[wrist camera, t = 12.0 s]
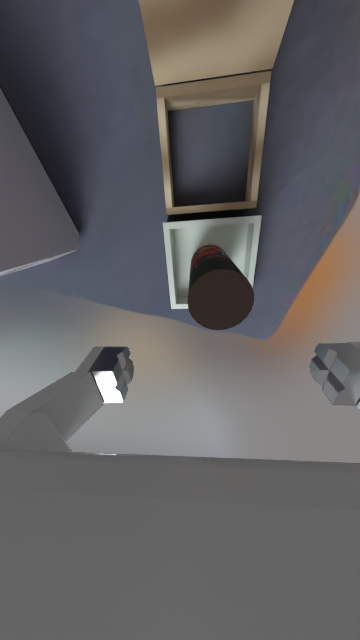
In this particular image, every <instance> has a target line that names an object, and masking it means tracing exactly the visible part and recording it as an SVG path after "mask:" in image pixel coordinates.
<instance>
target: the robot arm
mask: <svg viewBox="0 0 360 640" xmlns="http://www.w3.org/2000/svg"><path fill="white" fill-rule="evenodd" d="M315 353H316V356H315V357H314V358H312V359H311V362H310V373H311V375H312V377H313V379H314V380H315V381H316V382H317V383H319V384H320V385H322V386H323V387H322V391H323V393H324V394H325V396H326V397H327V398H328V400H329V401H330V403H331V404H332V405H348V406H357V408H359V409H360V342H347V343H319V344H318V345H317V346H316V348H315ZM129 356H130V351H129V348H128V347H94V348H93V349H92V350H91V352H90V353H89V354H88V355H87V357H86V358H85V360H84V361H83V362H82V364H81V365H80V366H79V367H78V369H77V370H76V371H75V372H71V373H69V374H68V375H66V376H64V377H63V378H61V379H59V380H57V381H56V382H54V383H52V384H51V385H49V386H47V387H46V388H44V389H42V390H41V391H39V392H37V393H36V394H34V395H32V396H31V397H29V398H27V399H26V400H24V401H22V402H21V403H19V404H17V405H15V406H14V407H12V408H11V409H9V410H7V411H6V412H5V413H4V414H3V415H2V416H1V417H0V640H360V463H341V462H315V461H291V460H265V459H240V458H214V457H188V456H161V455H137V454H109V453H85V452H72V450H71V448H70V447H69V445H68V444H67V443H66V441H67V440H68V439H69V438H70V437H71V436H72V435H73V434H74V433H75V432H76V431H77V430H78V429H79V428H80V427H81V426H82V425H83V424H84V423H85V422H86V421H87V420H88V419H89V418H90V417H91V416H92V415H93V414H94V413H95V412H96V411H97V410H99V408H100V407H101V406H102V405H104V403H115V402H116V403H119V402H124V399H125V396H126V394H127V391H128V387H127V384H129V383H130V382H131V381H132V378H133V372H134V366H133V361H132V360H130V359H129Z"/></svg>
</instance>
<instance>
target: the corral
mask: <svg viewBox="0 0 360 640" xmlns="http://www.w3.org/2000/svg"><path fill="white" fill-rule="evenodd" d="M270 79H271V71H266V72H259V73H252V74H246V75H239V76H232V77H225V78H218V79H211V80H204V81H197V82H190V83H183V84H176V85H169V86H162V87H156V98H157V109H158V120H159V132H160V143H161V154H162V166H163V177H164V188H165V199H166V211H167V215H175V214H187V213H200V212H213V211H225V210H238V209H251V208H256V205H257V196H258V187H259V178H260V169H261V160H262V151H263V142H264V133H265V124H266V115H267V106H268V97H269V88H270ZM250 100H254V102H253V114H252V126H251V137H250V149H249V161H248V173H247V185H246V196H245V201H244V202H232V203H220V204H207V205H195V206H183V207H174V195H173V181H172V167H171V153H170V138H169V124H168V111H173V110H181V109H189V108H196V107H204V106H212V105H219V104H227V103H235V102H242V101H250Z"/></svg>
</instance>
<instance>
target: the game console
mask: <svg viewBox="0 0 360 640" xmlns="http://www.w3.org/2000/svg"><path fill="white" fill-rule="evenodd" d="M78 249H79V232H78V231H77V229H76V227H75V225H74V223H73V221H72V220H71V218H70V216H69V214H68V212H67V210H66V208H65V207H64V205H63V203H62V201H61V199H60V197H59V196H58V194H57V192H56V190H55V188H54V186H53V184H52V183H51V181H50V179H49V177H48V175H47V173H46V172H45V170H44V168H43V166H42V164H41V162H40V160H39V159H38V157H37V155H36V153H35V151H34V149H33V148H32V146H31V144H30V142H29V140H28V138H27V136H26V135H25V133H24V131H23V129H22V127H21V125H20V124H19V122H18V120H17V118H16V116H15V114H14V112H13V111H12V109H11V107H10V105H9V103H8V101H7V100H6V98H5V96H4V94H3V92H2V90H1V88H0V276H3V275H6V274H10V273H13V272H16V271H19V270H22V269H26V268H29V267H32V266H35V265H38V264H42V263H45V262H48V261H51V260H53V259H56V258H58V257H61V256H63V255H66V254H68V253H71V252H73V251H76V250H78Z"/></svg>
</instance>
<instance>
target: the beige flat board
mask: <svg viewBox="0 0 360 640" xmlns="http://www.w3.org/2000/svg"><path fill="white" fill-rule="evenodd" d="M293 2H294V0H139V4H140V9H141V15H142V20H143V25H144V30H145V36H146V41H147V46H148V51H149V57H150V62H151V67H152V72H153V78H154V83H155V86H156V85H163V84H170V83H177V82H184V81H191V80H198V79H205V78H212V77H219V76H225V75H232V74H239V73H246V72H253V71H260V70H267V69H273V66H274V62H275V59H276V56H277V53H278V50H279V47H280V44H281V40H282V37H283V34H284V31H285V28H286V25H287V21H288V18H289V15H290V12H291V9H292V6H293Z"/></svg>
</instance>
